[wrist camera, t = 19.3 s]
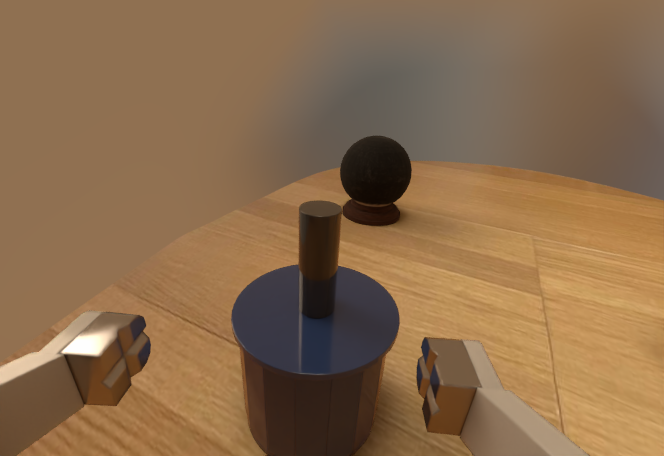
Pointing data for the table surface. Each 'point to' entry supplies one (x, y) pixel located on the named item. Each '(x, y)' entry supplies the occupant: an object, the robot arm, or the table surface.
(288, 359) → the lid
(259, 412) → the pot
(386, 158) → the ball on stand
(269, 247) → the table surface
